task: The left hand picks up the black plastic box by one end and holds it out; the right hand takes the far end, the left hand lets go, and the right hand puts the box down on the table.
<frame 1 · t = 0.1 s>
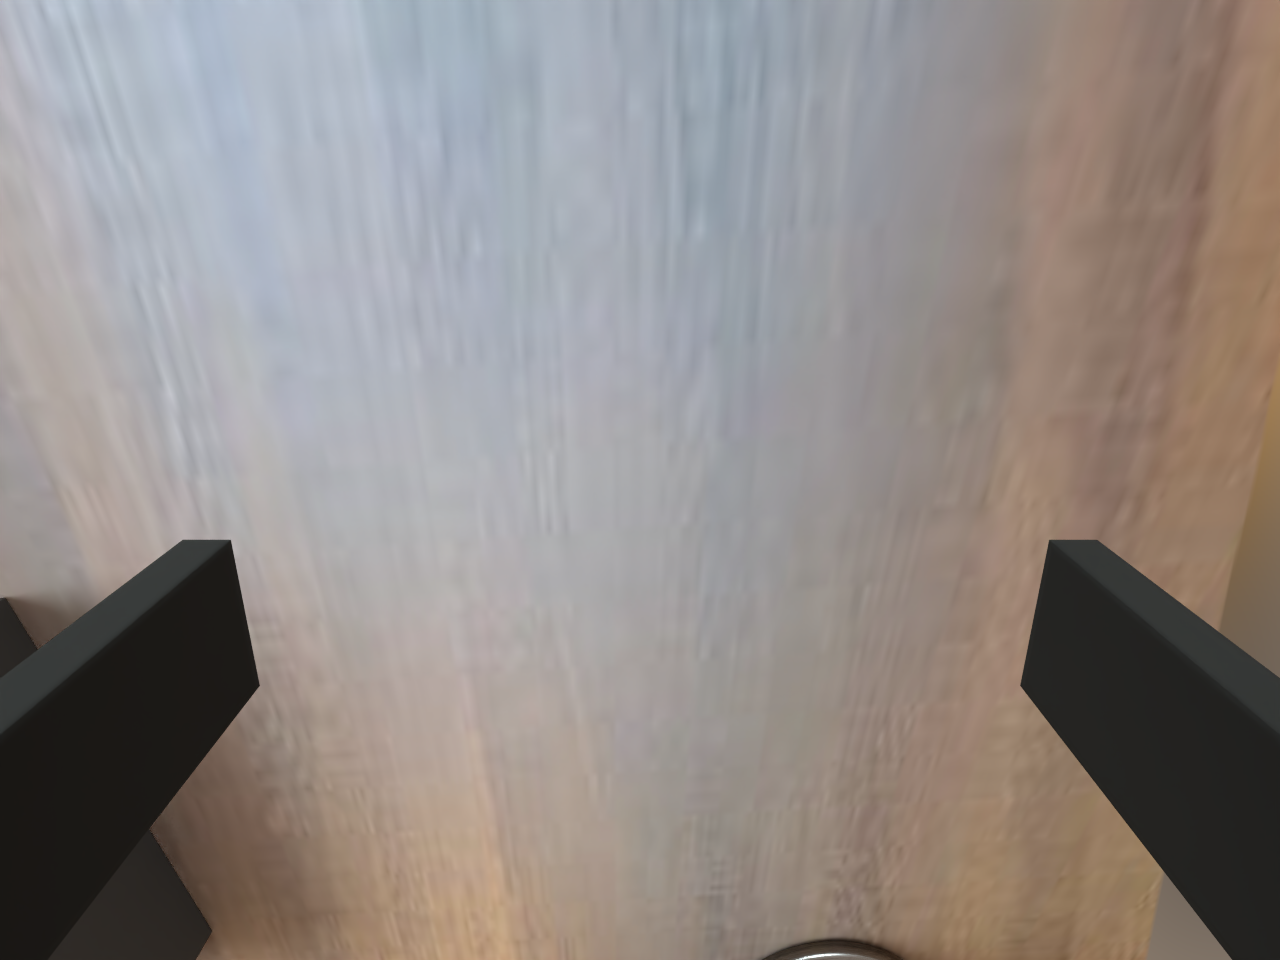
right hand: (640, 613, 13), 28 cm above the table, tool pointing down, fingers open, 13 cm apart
box: (72, 790, 49), on the table
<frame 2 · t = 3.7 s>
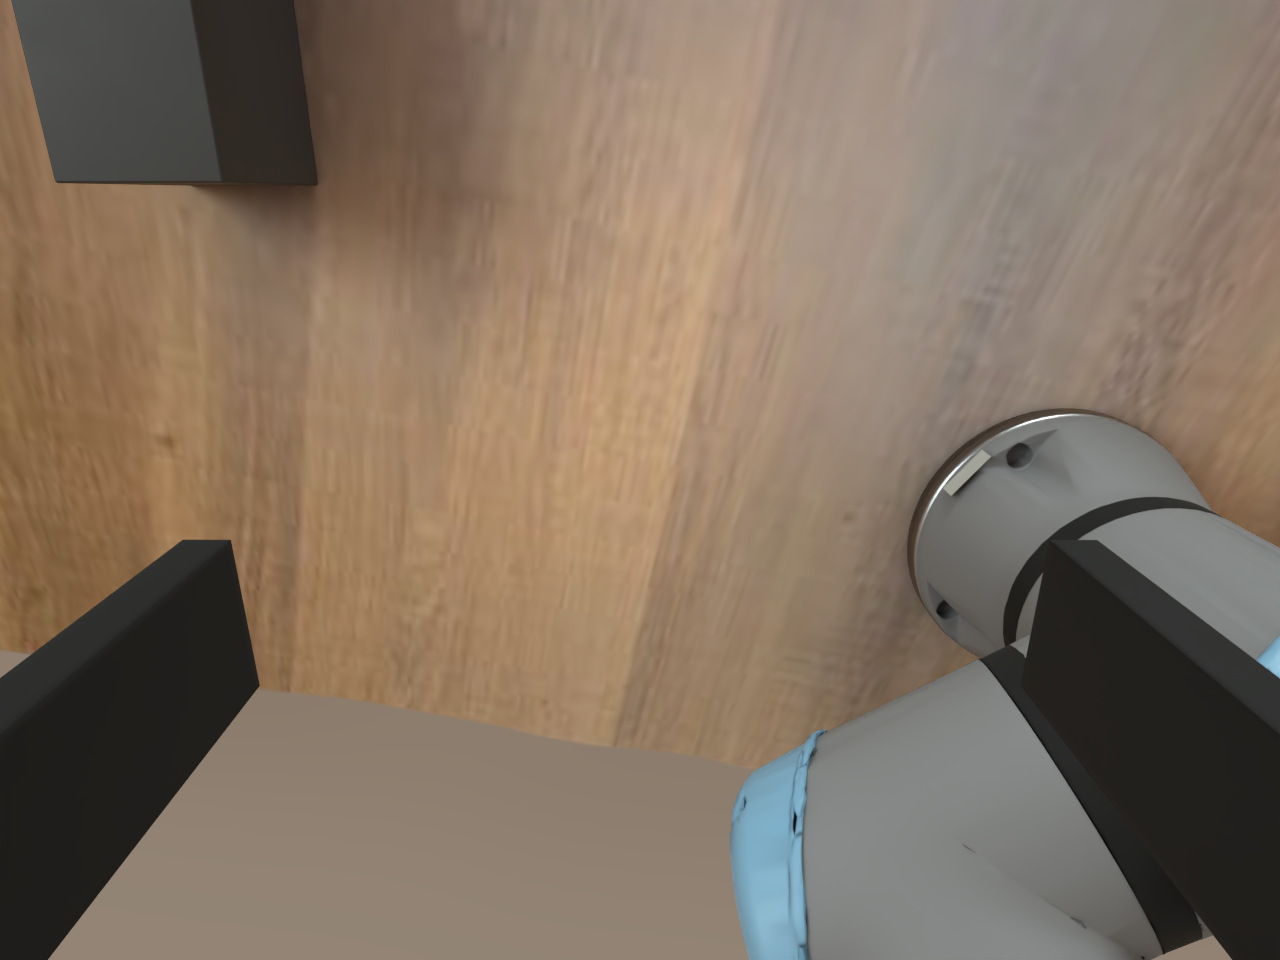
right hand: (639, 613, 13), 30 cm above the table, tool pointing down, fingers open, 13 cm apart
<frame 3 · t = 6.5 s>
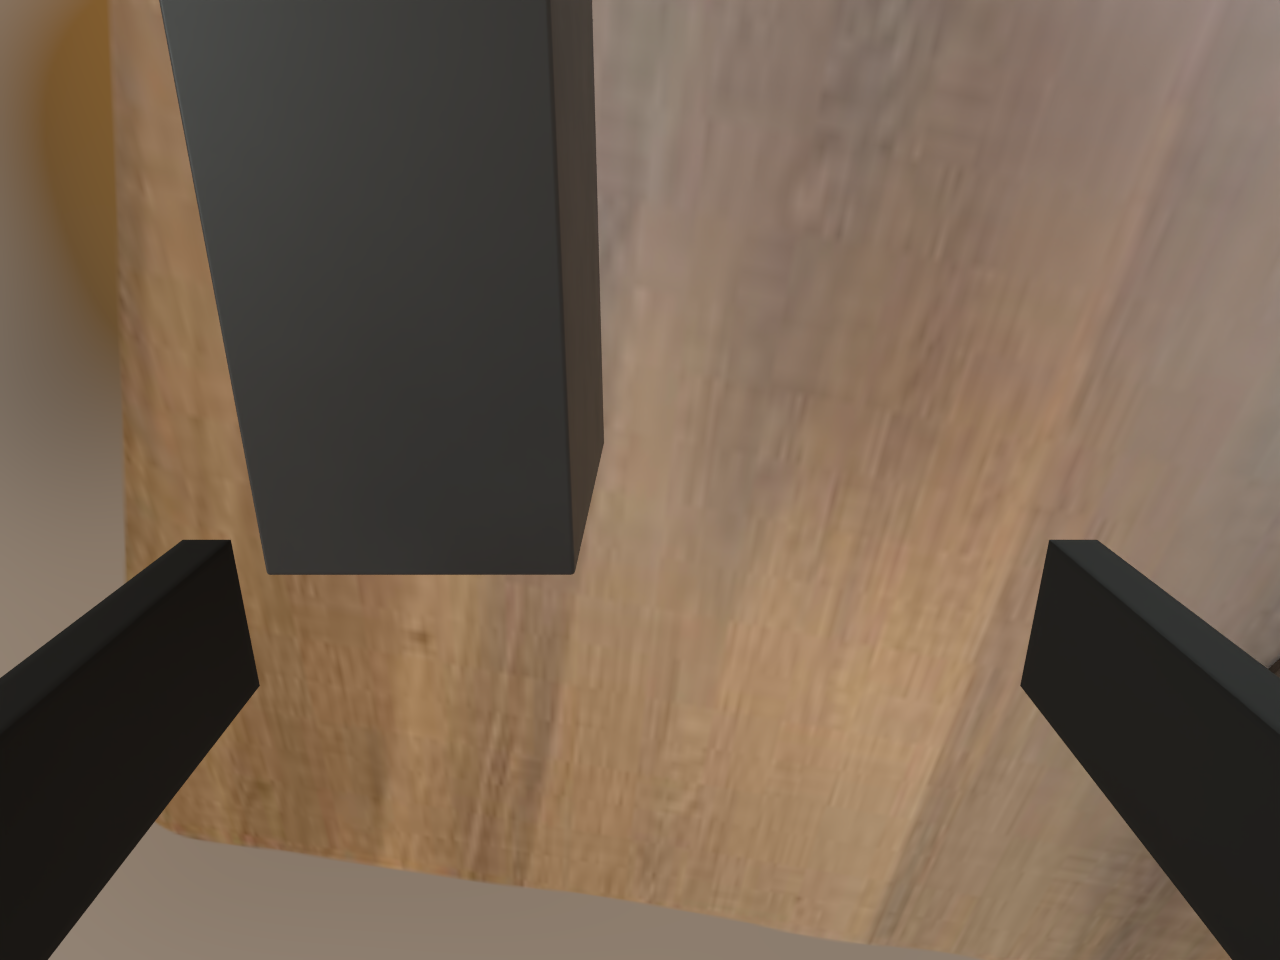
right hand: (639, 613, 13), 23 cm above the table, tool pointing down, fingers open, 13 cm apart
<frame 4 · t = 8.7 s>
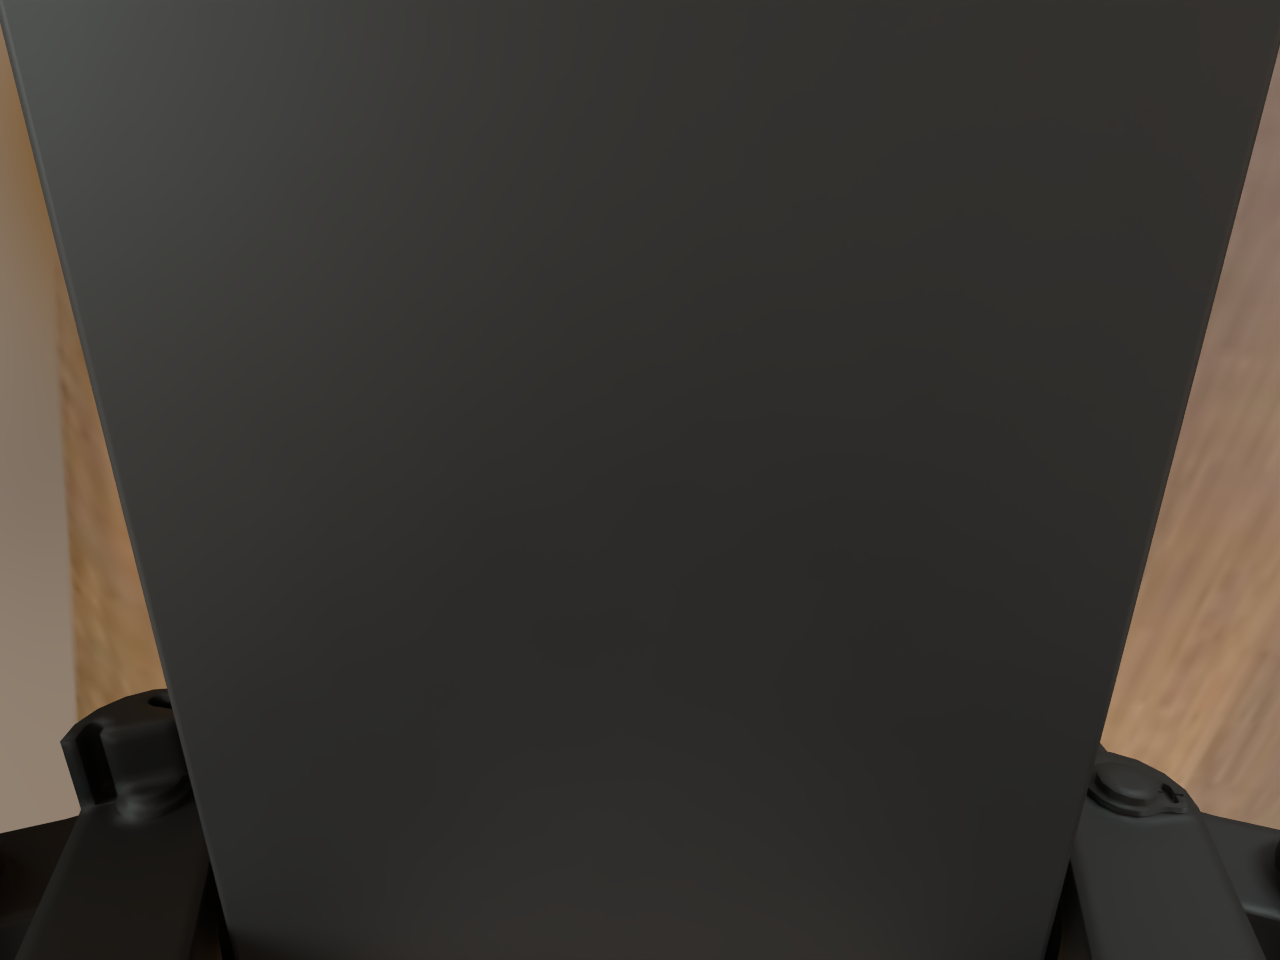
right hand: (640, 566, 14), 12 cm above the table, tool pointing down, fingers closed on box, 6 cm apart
when the left hand's fingers open (15 cm above the table, at t = 9.6 s): box moves 1 cm, held by the right hand.
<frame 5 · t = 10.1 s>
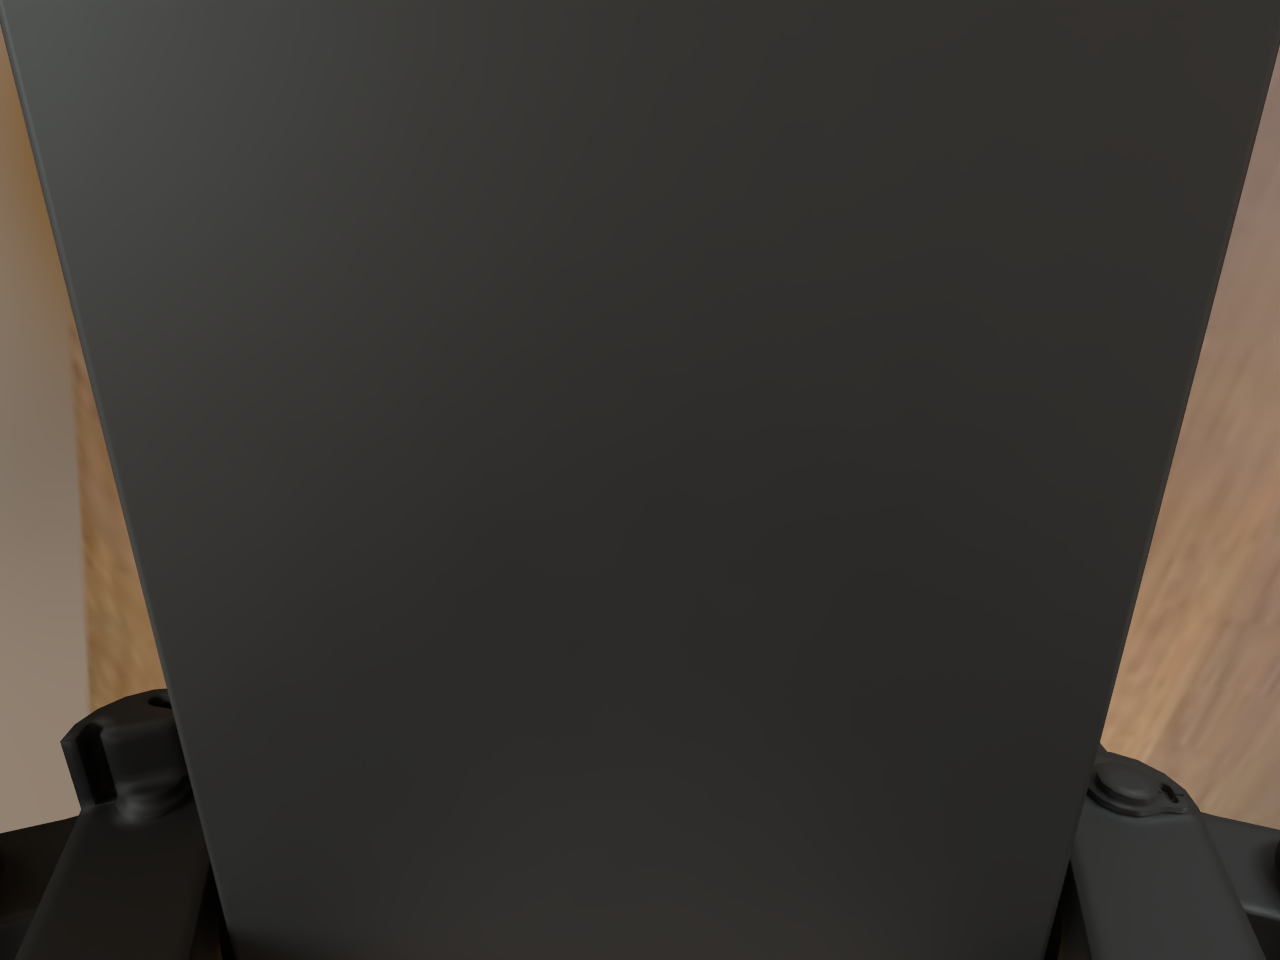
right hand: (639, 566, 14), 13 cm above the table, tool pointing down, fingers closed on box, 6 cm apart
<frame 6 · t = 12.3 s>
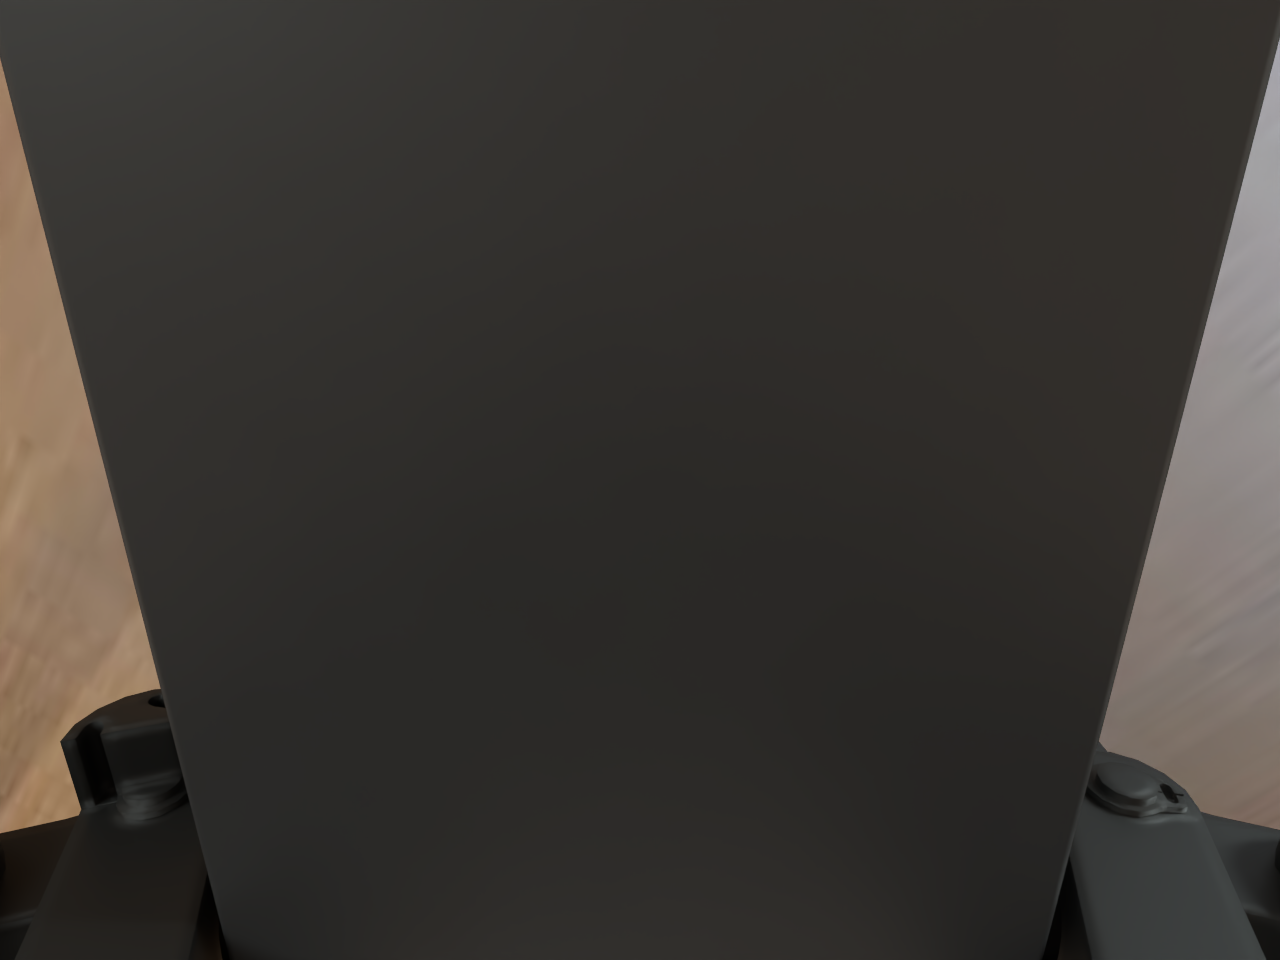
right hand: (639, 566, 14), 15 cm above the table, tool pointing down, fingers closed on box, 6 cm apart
when the right hand's fingers open (2 cm above the table, at t = 16.4 s): box stays where it is, on the table.
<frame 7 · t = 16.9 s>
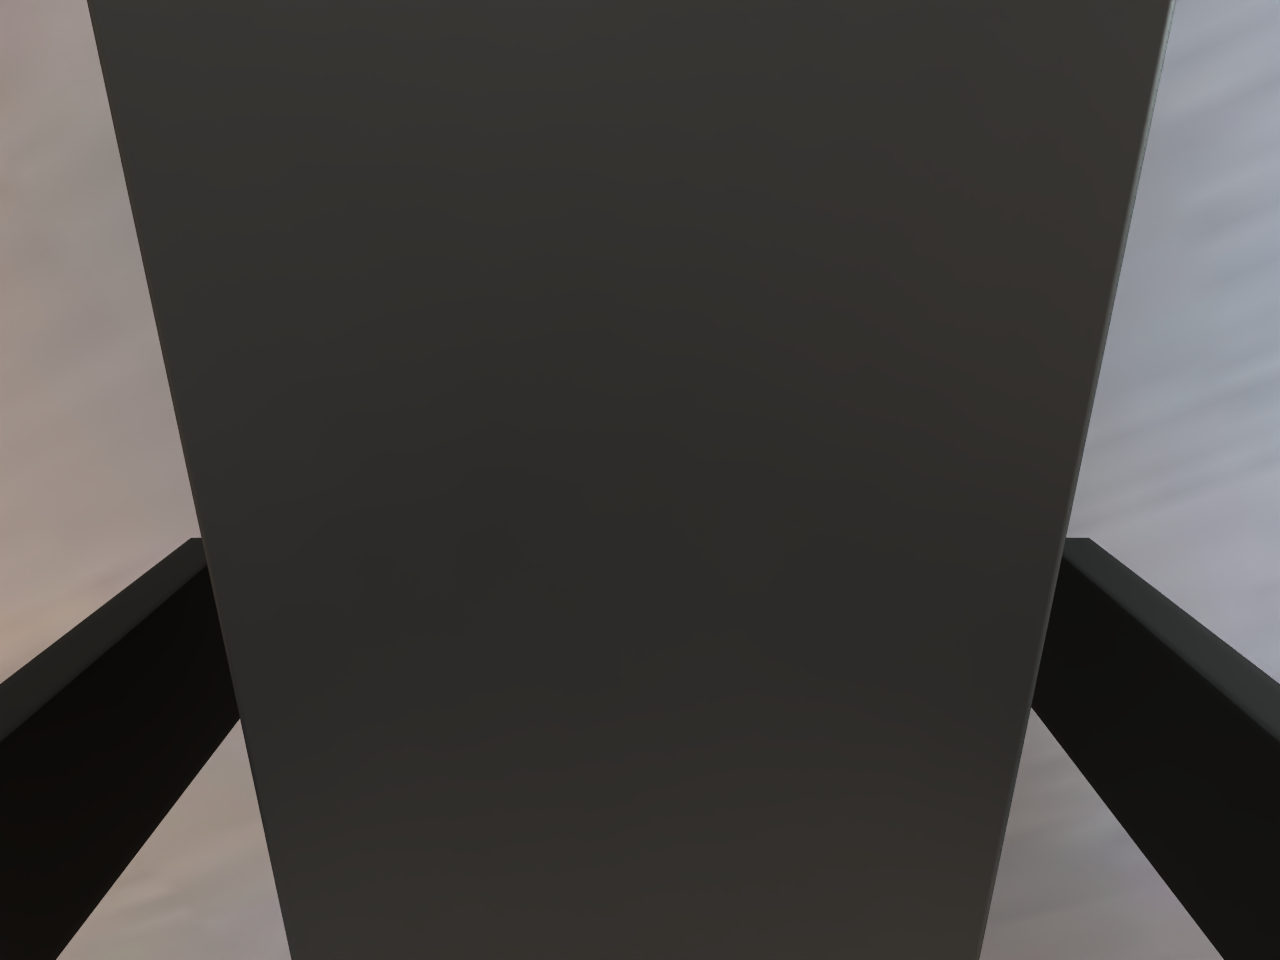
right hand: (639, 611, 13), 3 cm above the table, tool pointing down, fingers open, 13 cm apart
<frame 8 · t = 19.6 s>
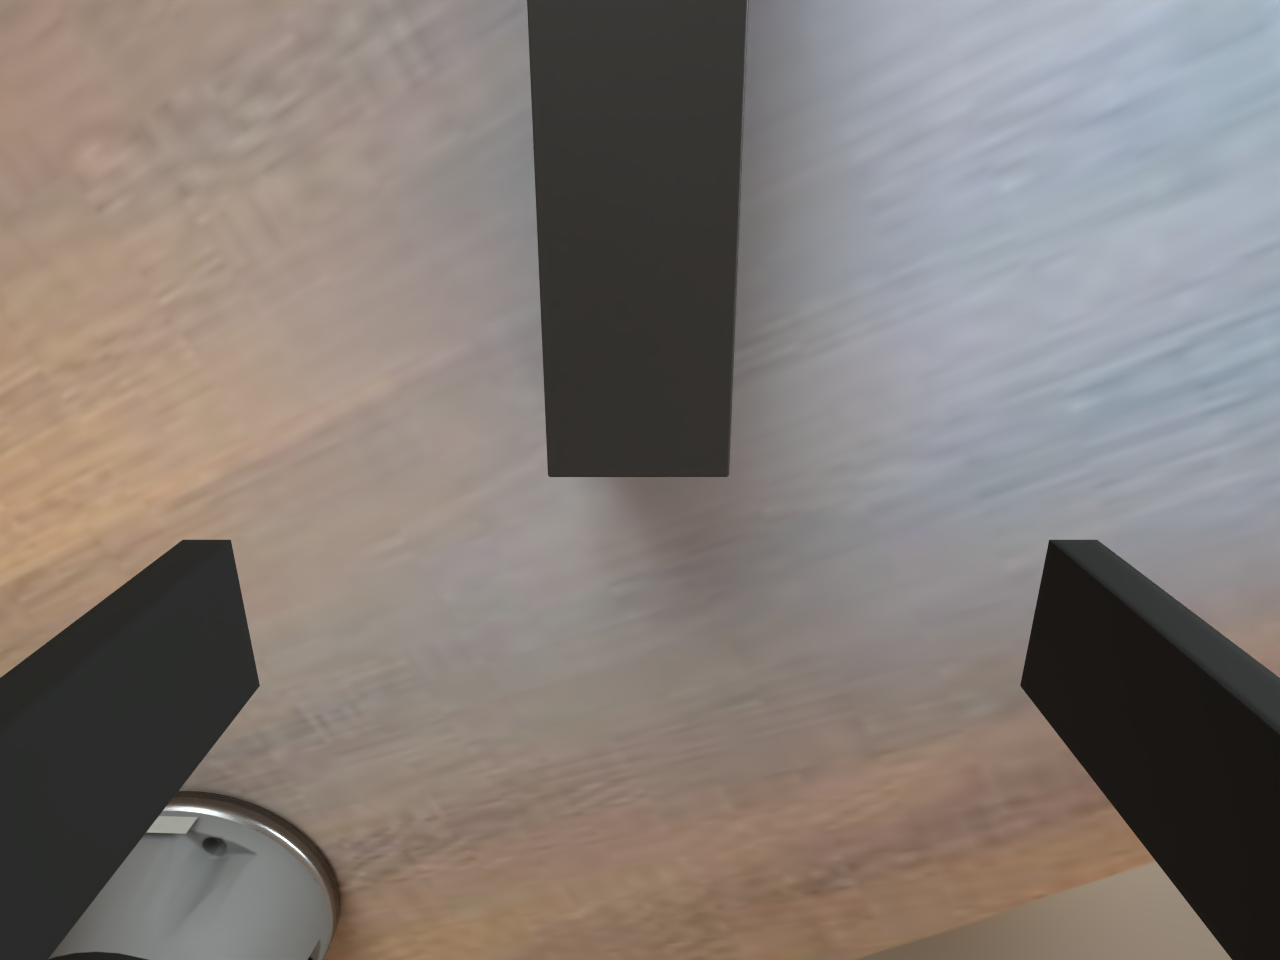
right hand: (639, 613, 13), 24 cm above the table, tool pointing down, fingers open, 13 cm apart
box: (638, 92, 32), on the table
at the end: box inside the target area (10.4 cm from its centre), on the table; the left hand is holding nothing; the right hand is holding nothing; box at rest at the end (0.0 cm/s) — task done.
